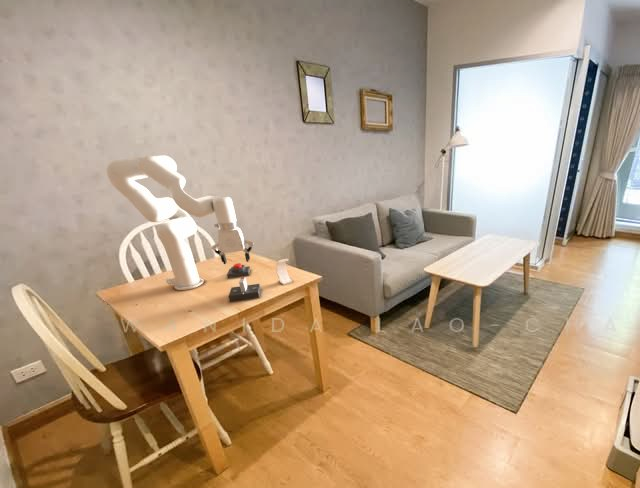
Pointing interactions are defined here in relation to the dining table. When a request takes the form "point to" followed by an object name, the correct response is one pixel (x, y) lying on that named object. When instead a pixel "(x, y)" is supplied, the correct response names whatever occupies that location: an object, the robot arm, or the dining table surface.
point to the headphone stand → (282, 272)
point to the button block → (238, 272)
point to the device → (244, 293)
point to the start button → (237, 266)
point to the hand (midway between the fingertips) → (236, 262)
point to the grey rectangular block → (243, 284)
